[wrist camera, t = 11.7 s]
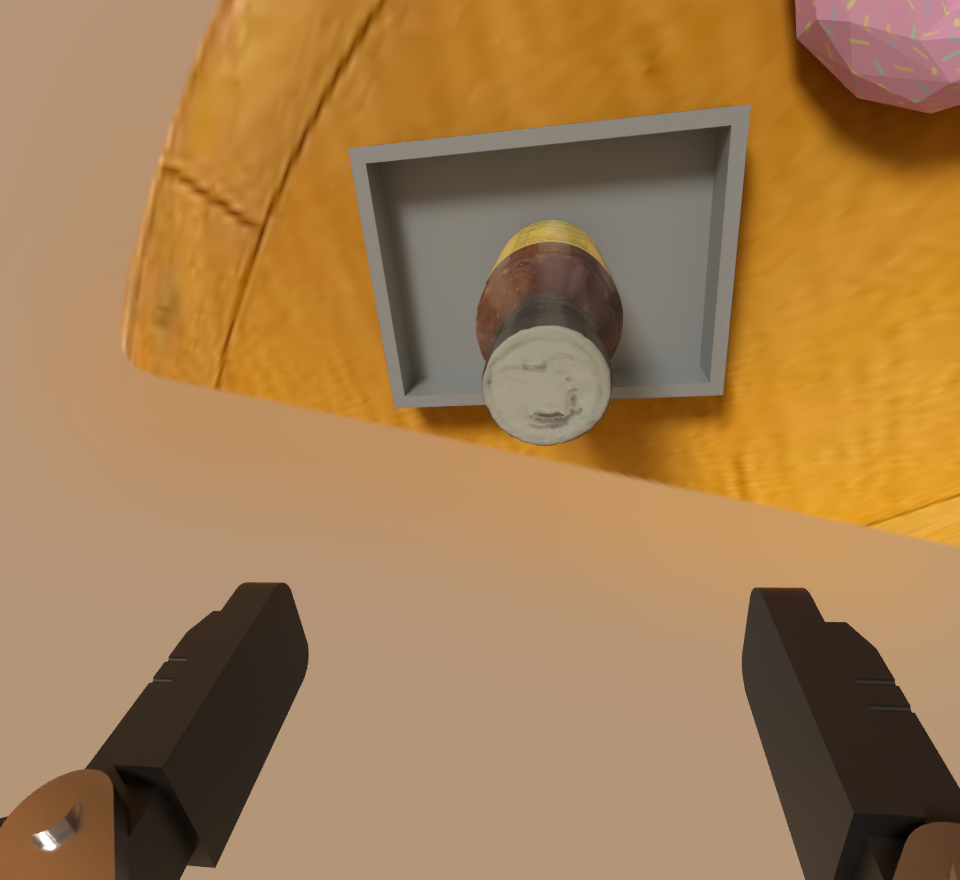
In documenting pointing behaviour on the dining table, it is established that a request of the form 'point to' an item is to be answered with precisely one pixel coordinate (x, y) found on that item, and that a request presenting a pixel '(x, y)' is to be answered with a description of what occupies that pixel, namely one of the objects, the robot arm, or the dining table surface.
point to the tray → (569, 198)
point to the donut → (887, 48)
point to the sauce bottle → (548, 334)
